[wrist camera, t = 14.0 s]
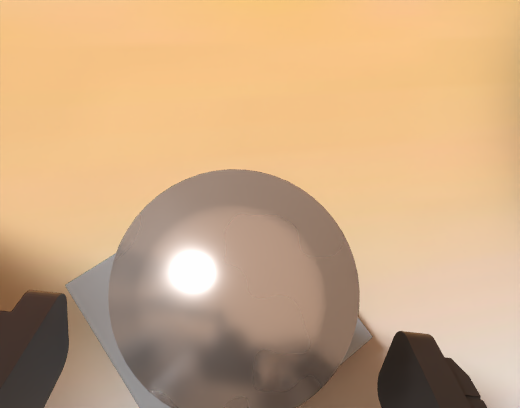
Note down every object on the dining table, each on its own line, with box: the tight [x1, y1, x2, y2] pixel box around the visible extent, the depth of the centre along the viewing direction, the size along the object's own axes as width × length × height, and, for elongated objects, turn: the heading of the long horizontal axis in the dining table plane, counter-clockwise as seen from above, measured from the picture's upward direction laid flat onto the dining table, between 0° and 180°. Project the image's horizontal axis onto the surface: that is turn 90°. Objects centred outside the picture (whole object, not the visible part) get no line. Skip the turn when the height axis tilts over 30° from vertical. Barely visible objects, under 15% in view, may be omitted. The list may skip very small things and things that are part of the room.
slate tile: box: [65, 254, 372, 408], centre depth 18 cm, size 9×9×1 cm
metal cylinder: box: [108, 169, 359, 408], centre depth 12 cm, size 4×4×10 cm
